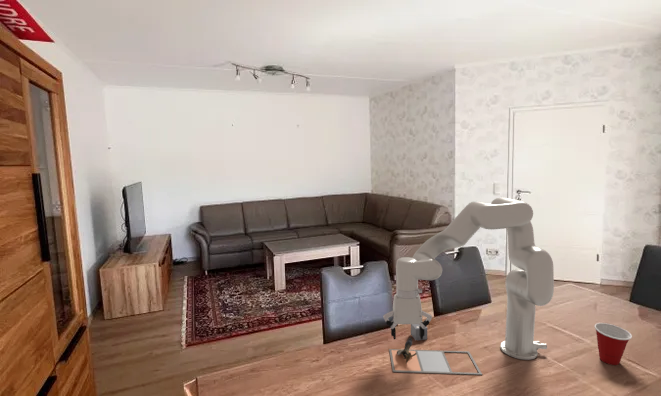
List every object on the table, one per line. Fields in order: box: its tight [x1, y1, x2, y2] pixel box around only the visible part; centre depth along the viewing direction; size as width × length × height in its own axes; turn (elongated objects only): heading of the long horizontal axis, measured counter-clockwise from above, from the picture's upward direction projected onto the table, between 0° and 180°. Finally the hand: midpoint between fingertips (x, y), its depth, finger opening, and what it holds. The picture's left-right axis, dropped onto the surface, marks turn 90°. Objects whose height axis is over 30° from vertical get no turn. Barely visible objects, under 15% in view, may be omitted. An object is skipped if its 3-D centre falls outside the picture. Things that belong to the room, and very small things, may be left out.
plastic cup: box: [594, 322, 633, 366], centre depth 132 cm, size 11×11×12 cm
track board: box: [388, 348, 483, 376], centre depth 133 cm, size 30×15×1 cm, turn 86°
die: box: [410, 324, 429, 341], centre depth 151 cm, size 5×5×5 cm
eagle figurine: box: [397, 337, 417, 364], centre depth 135 cm, size 8×7×9 cm
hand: (407, 337), depth 133 cm, fingers open, 9 cm apart
